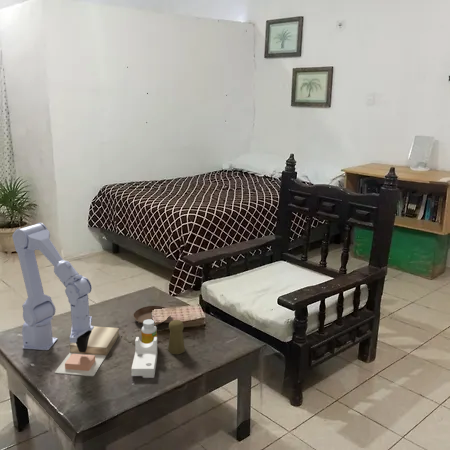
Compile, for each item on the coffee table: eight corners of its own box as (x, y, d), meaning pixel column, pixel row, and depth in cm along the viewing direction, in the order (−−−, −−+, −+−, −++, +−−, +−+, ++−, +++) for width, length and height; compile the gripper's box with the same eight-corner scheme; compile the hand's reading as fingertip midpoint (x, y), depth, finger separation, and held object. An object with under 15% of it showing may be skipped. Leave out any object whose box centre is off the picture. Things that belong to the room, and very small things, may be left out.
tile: (72, 353, 166) (72, 358, 166) (64, 363, 160) (65, 368, 161) (95, 355, 165) (95, 360, 166) (88, 365, 159) (88, 370, 160)
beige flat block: (70, 352, 171) (69, 345, 170) (85, 332, 184) (84, 325, 183) (106, 355, 169) (106, 347, 169) (119, 335, 183) (118, 328, 182)
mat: (54, 373, 159) (54, 372, 159) (69, 353, 170) (69, 352, 170) (93, 376, 158) (93, 375, 157) (106, 356, 169) (106, 355, 169)
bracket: (136, 356, 170) (136, 336, 168) (157, 356, 170) (157, 336, 168) (131, 378, 157) (130, 357, 155) (153, 378, 158) (153, 357, 156)
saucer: (140, 332, 186) (140, 325, 185) (128, 315, 198) (128, 309, 198) (176, 324, 192) (176, 317, 192) (163, 308, 205) (163, 302, 204)
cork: (164, 349, 174) (163, 321, 171) (177, 343, 178) (176, 316, 175) (175, 356, 170) (175, 327, 167) (188, 349, 174) (188, 321, 171)
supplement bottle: (154, 351, 173) (153, 326, 170) (139, 349, 174) (138, 324, 171) (159, 343, 178) (158, 319, 175) (144, 341, 179) (144, 317, 176)
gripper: (83, 325, 154) (86, 363, 157) (99, 305, 167) (101, 340, 171) (61, 324, 154) (65, 362, 158) (79, 304, 168) (82, 339, 172)
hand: (82, 351), depth 165 cm, fingers closed
